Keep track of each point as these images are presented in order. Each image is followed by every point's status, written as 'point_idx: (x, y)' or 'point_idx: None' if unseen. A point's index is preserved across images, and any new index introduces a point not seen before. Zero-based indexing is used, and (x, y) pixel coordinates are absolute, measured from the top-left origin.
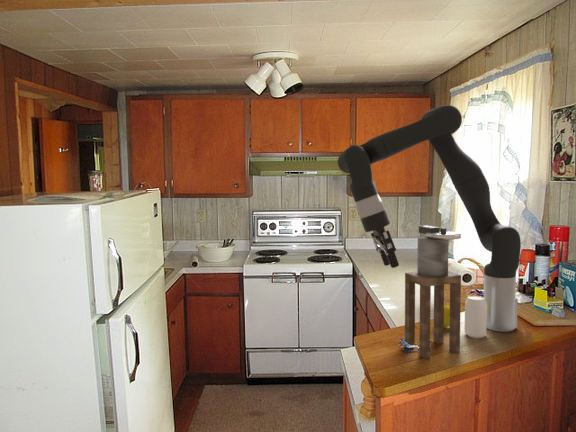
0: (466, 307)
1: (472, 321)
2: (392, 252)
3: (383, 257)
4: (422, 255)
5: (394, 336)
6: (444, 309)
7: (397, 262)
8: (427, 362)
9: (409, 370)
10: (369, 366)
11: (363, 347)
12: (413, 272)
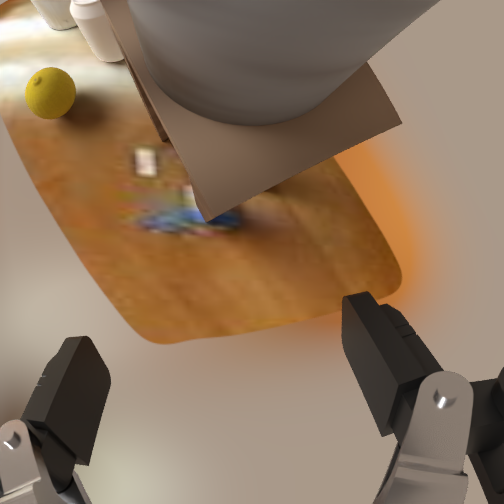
0: (103, 21)
1: None
2: (481, 392)
3: (87, 427)
4: (396, 33)
5: (129, 246)
6: (53, 86)
7: (378, 310)
8: (299, 177)
9: (344, 225)
10: (331, 311)
11: (222, 331)
12: (203, 149)
